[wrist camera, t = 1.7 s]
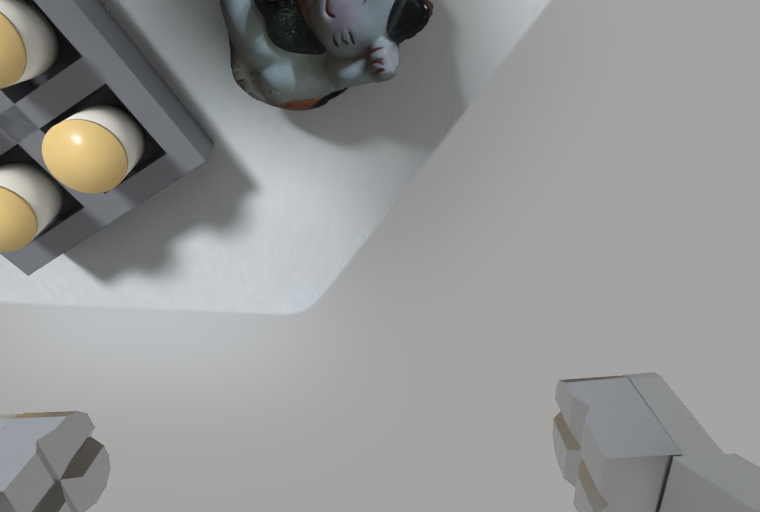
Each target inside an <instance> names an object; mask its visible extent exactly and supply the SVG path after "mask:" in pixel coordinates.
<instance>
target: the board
mask: <svg viewBox="0 0 760 512" xmlns="http://www.w3.org/2000/svg"><path fill="white" fill-rule="evenodd" d="M23 1H25V2H27V3H29V4H31V5H32V6H33V7H35V8H36V9H37V10H38V11H40V12H41V13H42V14H43V15H44V16H45V18H46V19H47V20H48V21H49V23H50V24H51V26H52V27H53V29H54V31H55V34H56V36H57V40H58V45H59V54H58V58H57V61H56V63H55V65H54V66H53V68H52V69H51V70H50V71H48V72H47V73H45V74H43V75H41V76H38V77H35V78H32V79H29V80H26V81H23V82H20V83H17V84H14V85H11V86H8V87H5V88H1V89H0V166H1V165H3V164H6V163H10V162H25V163H29V164H33V165H36V166H38V167H40V168H42V169H44V170H45V171H47V172H48V173H49V174H50V175H51V176H52V177H53V178H55V177H54V176H53V175H52V173H51V172H50V171H49V169H48V168H47V166H46V164H45V162H44V159H43V156H42V142H43V139H44V136H45V135H46V133H47V132H48V131H49V129H51V128H52V127H53V126H55V125H56V124H58V123H60V122H62V121H63V120H65V119H67V118H69V117H70V116H72V115H74V114H76V113H78V112H79V111H81V110H83V109H85V108H86V107H89V106H92V105H99V104H101V105H110V106H114V107H116V108H119V109H121V110H123V111H125V112H126V113H128V114H129V115H130V116H131V117H132V118H133V119H134V120H135V121H136V122H137V123H138V124H139V126H140V128H141V130H142V132H143V134H144V138H145V150H144V154H143V156H142V158H141V159H140V160H139V162H138V163H137V164H136V165H135V166H134V167H133V168H132V170H131V171H130V172H129V173H128V174H127V175H126V177H125V178H124V179H123V180H122V181H121V182H120V183H119V184H118V185H117V186H116V187H115V188H113V189H111V190H109V191H107V192H103V193H84V192H80V191H77V190H74V189H72V188H69V187H68V186H66V185H64V184H63V183H61V182H60V181H59V180H58V179H56V178H55V179H56V180H57V182H58V183H59V185H60V186H61V188H62V191H63V194H64V205H63V208H62V210H61V212H60V213H59V214H58V215H57V216H56V217H55V218H54V219H53V220H52V221H51V222H50V223H49V224H48V225H47V226H46V227H45V228H44V229H43V230H42V231H41V232H40V233H39V234H38V235H37V236H36V237H35V238H34V239H33V240H32V241H31V242H29V243H28V244H27V245H26V246H25V247H23V248H21V249H18V250H15V251H10V252H0V254H1V255H3V256H4V257H5V258H6V259H8V260H9V261H10V262H12V263H13V264H14V265H15V266H17V267H18V268H19V269H20V270H22V271H23V272H24V273H25V274H27V275H28V276H29V275H30V274H32V273H33V272H35V271H36V270H38V269H39V268H41V267H43V266H44V265H46V264H47V263H49V262H50V261H52V260H53V259H55V258H56V257H58V256H60V255H61V254H63V253H64V252H66V251H67V250H69V249H70V248H72V247H74V246H75V245H77V244H78V243H80V242H81V241H83V240H84V239H86V238H88V237H89V236H91V235H92V234H94V233H95V232H97V231H98V230H100V229H101V228H103V227H105V226H106V225H108V224H109V223H111V222H112V221H114V220H115V219H117V218H119V217H120V216H122V215H123V214H125V213H126V212H128V211H129V210H131V209H132V208H134V207H136V206H137V205H139V204H140V203H142V202H143V201H145V200H146V199H148V198H150V197H151V196H153V195H154V194H156V193H157V192H159V191H160V190H162V189H164V188H165V187H167V186H168V185H170V184H171V183H173V182H174V181H176V180H177V179H179V178H181V177H182V176H184V175H185V174H187V173H188V172H190V171H191V170H193V169H195V168H196V167H198V166H199V165H201V164H202V163H204V162H205V161H206V160H207V157H208V155H209V153H210V151H211V149H212V147H213V145H214V143H213V142H212V141H211V140H210V138H209V137H208V136H207V134H206V133H205V132H204V131H203V129H202V128H201V127H200V126H199V124H198V123H197V122H196V121H195V119H194V118H193V117H192V116H191V114H190V113H189V112H188V111H187V109H186V108H185V107H184V106H183V104H182V103H181V102H180V101H179V99H178V98H177V97H176V96H175V94H174V93H173V92H172V90H171V89H170V88H169V87H168V85H167V84H166V83H165V82H164V80H163V79H162V78H161V77H160V75H159V74H158V73H157V72H156V70H155V69H154V68H153V67H152V65H151V64H150V63H149V62H148V60H147V59H146V58H145V57H144V55H143V54H142V53H141V52H140V50H139V49H138V48H137V46H136V45H135V44H134V43H133V41H132V40H131V39H130V38H129V36H128V35H127V34H126V33H125V31H124V30H123V29H122V28H121V26H120V25H119V24H118V23H117V21H116V20H115V19H114V18H113V16H112V15H111V14H110V13H109V11H108V10H107V9H106V8H105V6H104V5H103V4H102V2H101V1H100V0H23Z"/></svg>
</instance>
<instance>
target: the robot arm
mask: <svg viewBox="0 0 760 512" xmlns="http://www.w3.org/2000/svg"><path fill="white" fill-rule="evenodd" d="M555 399H556V401H557V403H558V405H559V408H560V410H561V412H560V413H559V414H558V415H557V416H556V417H555V418H554V420H553V421H554V422H553V440H554V448H555V453H556V457H557V460H558V464H559V466H560V469H561V472H562V475H563V477H564V478H565V479H566V480H567V481H568V482H570V483H571V484H572V485H574V486H575V487H576V490H575V499H574V505H575V507H576V510H577V512H760V467H759V466H757V465H755V464H753V463H751V462H750V461H748V460H746V459H744V458H742V457H741V456H739V455H737V454H724V453H723V452H722V450H721V449H720V448H719V447H718V445H717V444H716V443H715V442H714V440H713V439H712V438H711V437H710V435H709V434H708V433H707V432H706V431H705V429H704V428H703V427H702V426H701V425H700V423H699V422H698V421H697V420H696V418H695V417H694V416H693V415H692V413H691V412H690V411H689V410H688V409H687V407H686V406H685V405H684V404H683V402H682V401H681V400H680V399H679V397H678V396H677V395H676V394H675V393H674V391H673V390H672V389H671V388H670V386H669V385H668V384H667V383H666V382H665V380H664V379H663V378H662V377H661V376H660V375H658V374H656V373H642V374H631V375H622V376H609V377H595V378H582V379H567V380H559V382H558V385H557V388H556V398H555ZM94 428H95V427H94V425H93V423H92V421H91V420H90V418H89V416H88V414H87V413H83V412H78V411H70V412H45V413H24V414H10V415H0V512H85V511H86V510H87V509H89V508H90V507H91V506H93V505H94V504H95V503H96V502H97V501H98V499H99V497H100V496H101V494H102V492H103V491H104V489H105V487H106V484H107V480H108V476H109V472H110V462H109V455H108V453H107V451H106V449H105V447H104V445H102V444H101V443H99V442H98V441H96V440H95V439H94V438H92V437H91V436H92V433H93V430H94Z"/></svg>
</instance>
